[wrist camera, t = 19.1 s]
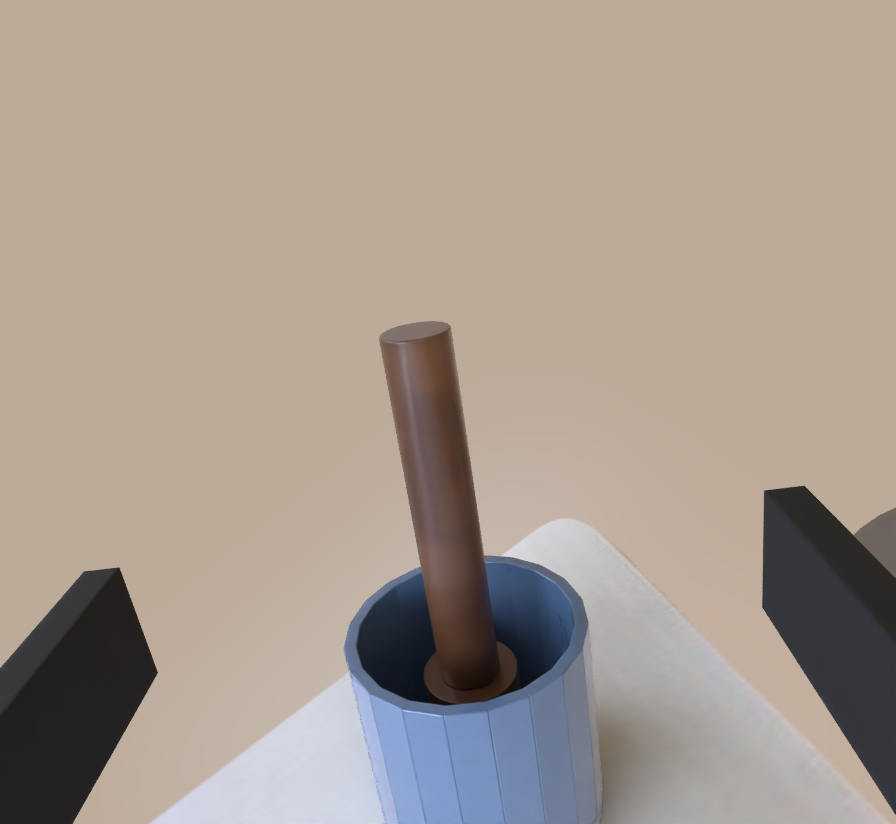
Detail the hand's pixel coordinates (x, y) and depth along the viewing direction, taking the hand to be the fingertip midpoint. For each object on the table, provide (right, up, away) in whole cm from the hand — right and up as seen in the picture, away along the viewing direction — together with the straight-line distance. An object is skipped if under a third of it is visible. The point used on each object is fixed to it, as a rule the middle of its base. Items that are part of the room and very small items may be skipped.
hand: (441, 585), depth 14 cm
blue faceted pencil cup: (+2, -13, +16) cm, 21 cm away
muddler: (+2, -12, +16) cm, 20 cm away
